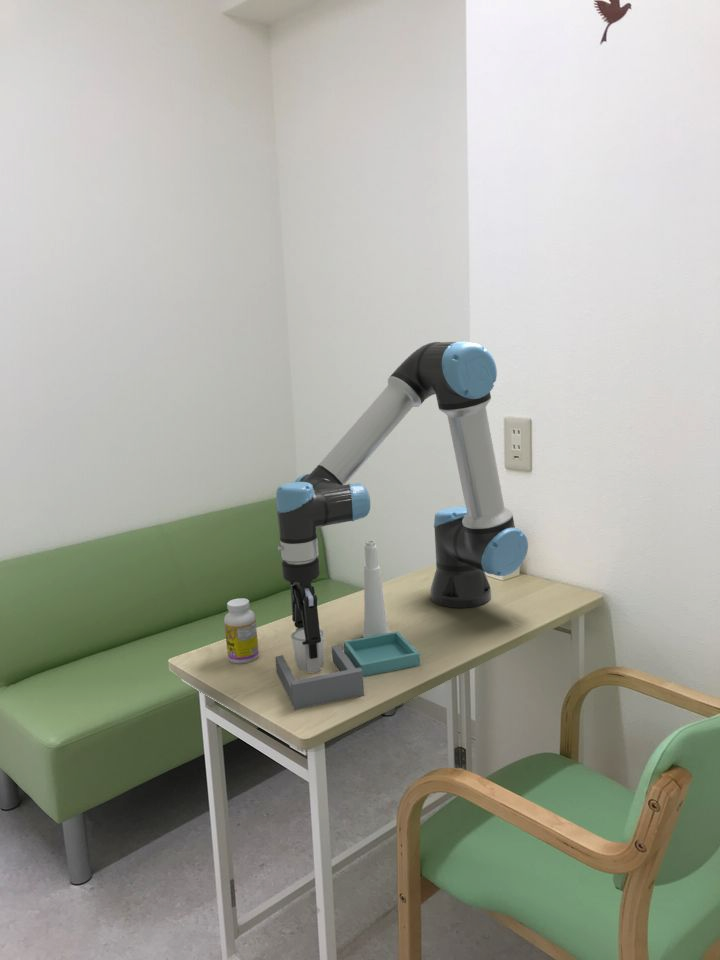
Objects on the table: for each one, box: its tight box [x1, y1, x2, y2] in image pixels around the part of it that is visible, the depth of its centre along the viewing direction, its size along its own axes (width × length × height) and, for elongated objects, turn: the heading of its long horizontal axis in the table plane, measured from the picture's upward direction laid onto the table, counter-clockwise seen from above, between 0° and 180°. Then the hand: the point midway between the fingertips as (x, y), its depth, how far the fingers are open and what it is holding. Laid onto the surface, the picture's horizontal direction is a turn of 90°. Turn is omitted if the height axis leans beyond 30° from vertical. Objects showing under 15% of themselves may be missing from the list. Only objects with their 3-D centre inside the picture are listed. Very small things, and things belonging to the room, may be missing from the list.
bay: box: [274, 644, 365, 710], centre depth 151 cm, size 17×14×5 cm
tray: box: [342, 630, 421, 677], centre depth 161 cm, size 13×13×2 cm
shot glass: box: [290, 628, 325, 672], centre depth 159 cm, size 7×7×7 cm
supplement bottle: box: [223, 597, 260, 664], centre depth 164 cm, size 7×7×13 cm
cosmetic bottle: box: [362, 540, 390, 638], centre depth 171 cm, size 6×6×22 cm
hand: (309, 663), depth 160 cm, fingers closed on shot glass, 7 cm apart
